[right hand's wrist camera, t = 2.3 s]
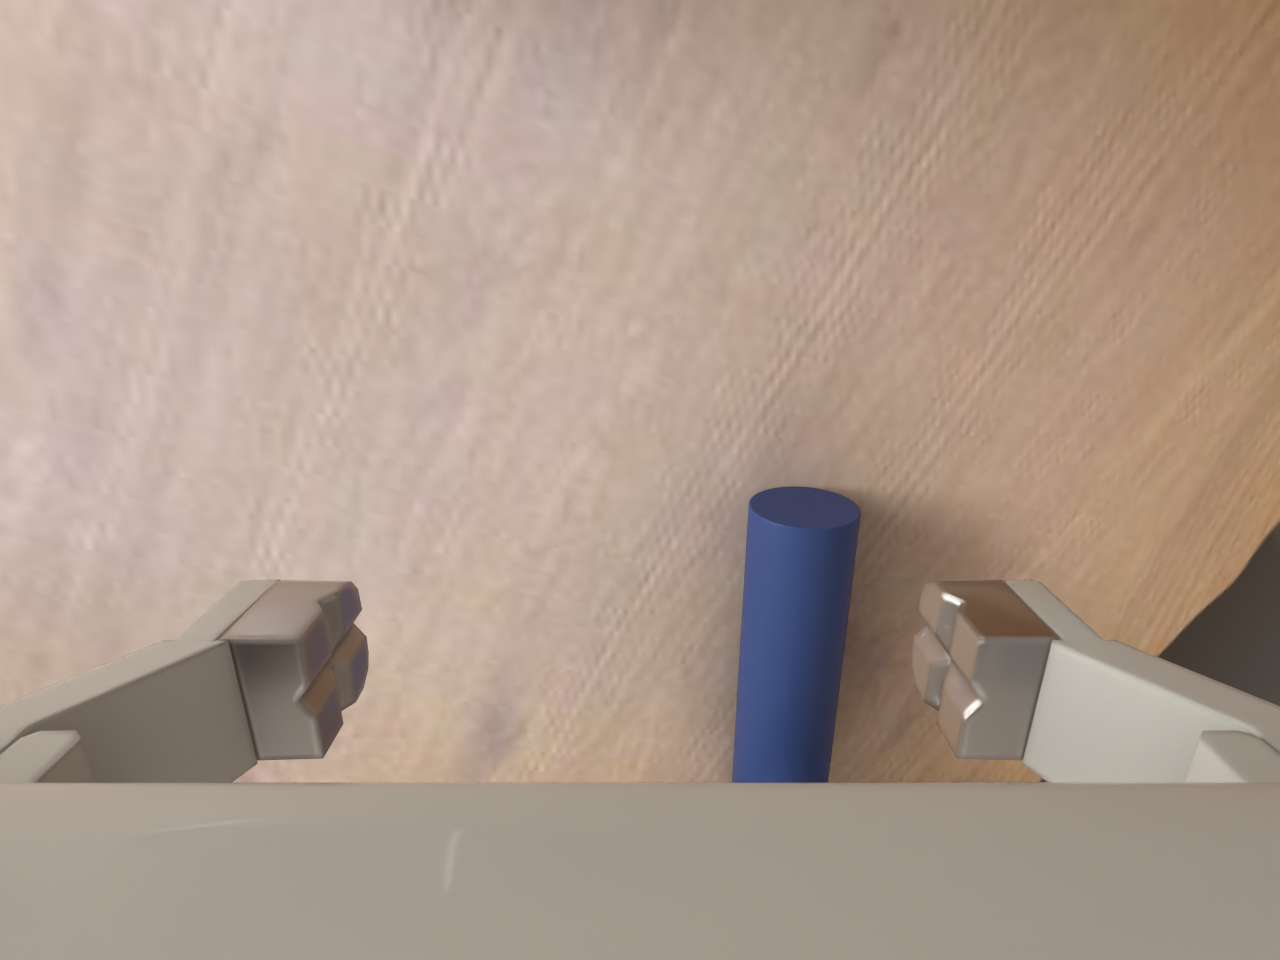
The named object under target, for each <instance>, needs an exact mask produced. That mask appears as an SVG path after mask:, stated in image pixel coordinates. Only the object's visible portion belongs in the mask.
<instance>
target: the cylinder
mask: <svg viewBox="0 0 1280 960" xmlns="http://www.w3.org/2000/svg"><path fill="white" fill-rule="evenodd" d="M860 514H861V513H860V509H859V508H858V506H857V505H856V504H855V503H854V502H853V501H851V500H849V499H848V498H846V497H844V496H841V495H839V494H836V493H833V492H829V491H825V490H820V489H814V488H806V487H781V488H773V489H769V490H765V491H762V492H760V493H758V494H756V495H754V496H753V497H752V498H751V500H750V502H749V511H748V528H747V544H746V561H745V577H744V594H743V610H742V627H741V643H740V660H739V676H738V693H737V709H736V726H735V742H734V759H733V775H732V783H828V777H829V769H830V761H831V752H832V744H833V736H834V728H835V720H836V711H837V703H838V695H839V687H840V679H841V670H842V662H843V654H844V646H845V637H846V629H847V621H848V613H849V605H850V596H851V588H852V580H853V572H854V564H855V555H856V547H857V539H858V531H859V523H860Z"/></svg>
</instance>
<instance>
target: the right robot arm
mask: <svg viewBox="0 0 1280 960" xmlns="http://www.w3.org/2000/svg"><path fill="white" fill-rule="evenodd" d="M361 610H362V607H361V602H360V597H359V592H358V589H357V587H356V586H355V585H354V584H353V583H352V582H343V581H289V580H284V581H281V580H249V581H240V582H239V583H238V584H237V585H236V586H235V587H234V588H233V589H231V590H230V591H229V592H228V593H227V594H226V595H225V596H224V597H223V598H222V599H221V600H219V601H218V602H217V603H216V604H215V605H214V606H213V607H212V608H211V609H210V610H208V611H207V612H206V613H205V614H204V615H203V616H202V617H201V618H200V619H199V620H198V621H196V622H195V623H194V624H193V625H192V626H191V627H190V628H189V629H188V630H187V631H185V632H184V633H183V634H182V635H181V636H180V637H179V638H178V639H177V640H164V641H161V642H159V643H156V644H154V645H151V646H149V647H146V648H144V649H141V650H139V651H136V652H134V653H131V654H129V655H126V656H124V657H121V658H119V659H117V660H114V661H112V662H109V663H107V664H104V665H102V666H99V667H97V668H94V669H92V670H89V671H87V672H84V673H82V674H79V675H77V676H74V677H72V678H69V679H67V680H64V681H62V682H59V683H57V684H54V685H52V686H49V687H47V688H44V689H42V690H39V691H37V692H35V693H32V694H30V695H27V696H25V697H22V698H20V699H17V700H15V701H12V702H10V703H7V704H5V705H2V706H0V960H1280V706H1277V705H1275V704H1272V703H1270V702H1267V701H1265V700H1262V699H1260V698H1258V697H1255V696H1253V695H1250V694H1248V693H1245V692H1243V691H1240V690H1238V689H1235V688H1233V687H1230V686H1228V685H1225V684H1223V683H1220V682H1218V681H1215V680H1213V679H1210V678H1208V677H1205V676H1203V675H1201V674H1198V673H1196V672H1193V671H1191V670H1188V669H1186V668H1183V667H1181V666H1178V665H1176V664H1173V663H1171V662H1168V661H1166V660H1163V659H1161V658H1158V657H1156V656H1153V655H1151V654H1149V653H1146V652H1144V651H1141V650H1139V649H1136V648H1134V647H1131V646H1129V645H1126V644H1124V643H1121V642H1119V641H1116V640H1103V639H1102V638H1101V637H1100V636H1099V635H1098V634H1097V633H1096V632H1095V631H1093V630H1092V629H1091V628H1090V627H1089V626H1088V625H1087V624H1086V623H1085V622H1084V621H1083V620H1081V619H1080V618H1079V617H1078V616H1077V615H1076V614H1075V613H1074V612H1073V611H1072V610H1071V609H1069V608H1068V607H1067V606H1066V605H1065V604H1064V603H1063V602H1062V601H1061V600H1060V599H1059V598H1057V597H1056V596H1055V595H1054V594H1053V593H1052V592H1051V591H1050V590H1049V589H1048V588H1047V587H1045V586H1044V585H1043V584H1042V583H1041V582H1038V581H1035V580H1032V579H1030V580H1008V581H1002V580H990V581H948V582H930V583H925V586H924V588H923V590H922V592H921V595H920V601H919V607H918V610H919V612H920V613H921V615H922V616H923V618H924V620H925V621H926V624H925V625H924V626H923V627H922V628H921V629H920V630H919V632H918V633H917V634H916V635H915V636H914V638H913V646H912V654H911V660H912V671H913V678H914V681H915V684H916V687H917V690H918V692H919V694H920V695H921V697H922V699H923V701H924V702H925V703H927V704H928V705H930V706H931V707H933V708H935V709H936V710H938V711H939V713H938V719H937V725H938V727H939V729H940V730H941V732H942V734H943V735H944V737H945V739H946V740H947V742H948V744H949V746H950V747H951V749H952V751H953V752H954V754H955V756H956V757H957V759H995V760H1023V762H1022V763H1023V764H1024V765H1026V766H1027V767H1028V768H1030V769H1031V770H1032V771H1034V772H1035V773H1036V774H1038V775H1039V776H1040V777H1042V778H1043V779H1044V780H1046V781H1047V782H1048V783H232V782H233V781H234V780H236V779H237V778H238V777H240V776H241V775H243V774H244V773H245V772H247V771H248V770H249V769H251V768H252V767H253V766H255V765H256V764H257V760H284V759H320V758H324V756H325V754H326V753H327V751H328V749H329V747H330V746H331V744H332V742H333V741H334V739H335V737H336V735H337V734H338V732H339V730H340V729H341V727H342V725H343V719H342V713H341V711H342V710H344V709H345V708H347V707H349V706H350V705H352V704H353V703H355V702H356V701H357V699H358V697H359V695H360V694H361V692H362V690H363V688H364V684H365V680H366V676H367V672H368V645H367V638H366V636H365V635H364V634H363V633H362V632H361V630H360V629H359V628H358V627H357V626H356V625H355V624H354V621H355V620H356V618H357V616H358V615H359V613H360V612H361Z"/></svg>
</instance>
